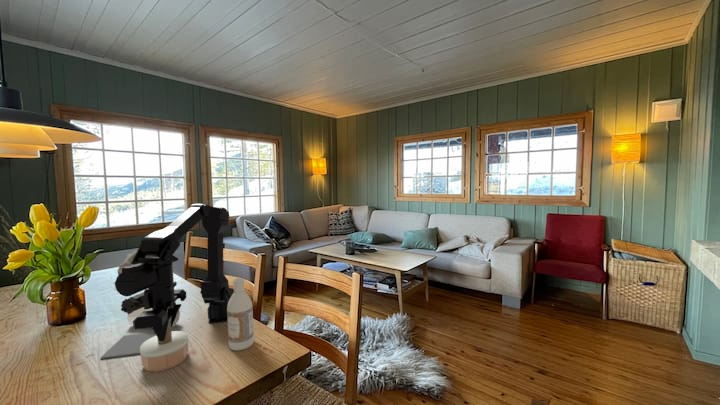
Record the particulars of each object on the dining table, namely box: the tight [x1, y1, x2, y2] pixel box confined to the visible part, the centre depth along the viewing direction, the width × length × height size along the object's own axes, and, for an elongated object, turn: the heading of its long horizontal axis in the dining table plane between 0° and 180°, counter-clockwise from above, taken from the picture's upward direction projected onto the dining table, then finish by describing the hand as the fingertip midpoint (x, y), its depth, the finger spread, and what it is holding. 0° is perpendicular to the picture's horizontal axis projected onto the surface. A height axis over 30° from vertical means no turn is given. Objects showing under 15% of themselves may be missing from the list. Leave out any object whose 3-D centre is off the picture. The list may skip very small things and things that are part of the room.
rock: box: [117, 249, 154, 276], centre depth 146 cm, size 15×18×15 cm
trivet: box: [100, 331, 156, 360], centre depth 89 cm, size 12×12×1 cm
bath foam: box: [227, 277, 255, 352], centre depth 88 cm, size 7×7×20 cm
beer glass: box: [126, 307, 181, 328], centre depth 101 cm, size 7×7×15 cm
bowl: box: [140, 342, 189, 373], centre depth 81 cm, size 10×10×4 cm
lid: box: [139, 322, 189, 358], centre depth 81 cm, size 11×11×6 cm
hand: (164, 337), depth 81 cm, fingers closed on lid, 3 cm apart
